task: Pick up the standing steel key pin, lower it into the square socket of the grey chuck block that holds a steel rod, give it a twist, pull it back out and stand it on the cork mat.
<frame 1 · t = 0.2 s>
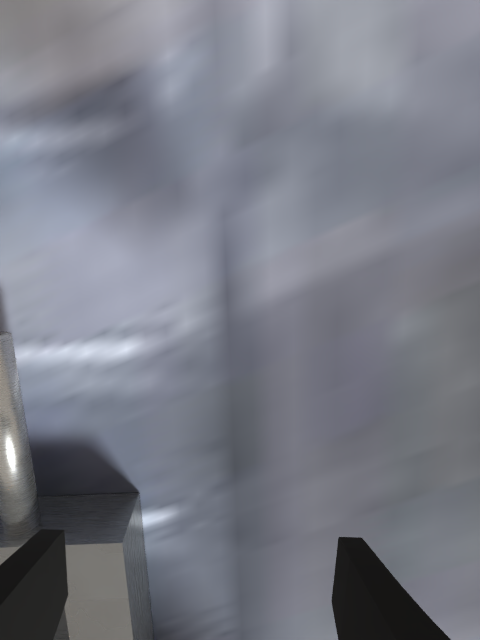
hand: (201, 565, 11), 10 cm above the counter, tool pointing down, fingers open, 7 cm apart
chuck block: (54, 578, 23), on the counter
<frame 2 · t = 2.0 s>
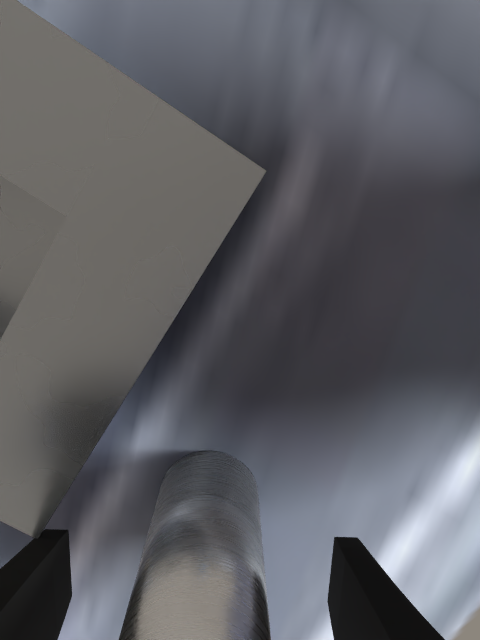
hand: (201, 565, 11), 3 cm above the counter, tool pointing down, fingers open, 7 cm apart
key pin: (209, 495, 14), on the counter
chuck block: (11, 240, 12), on the counter
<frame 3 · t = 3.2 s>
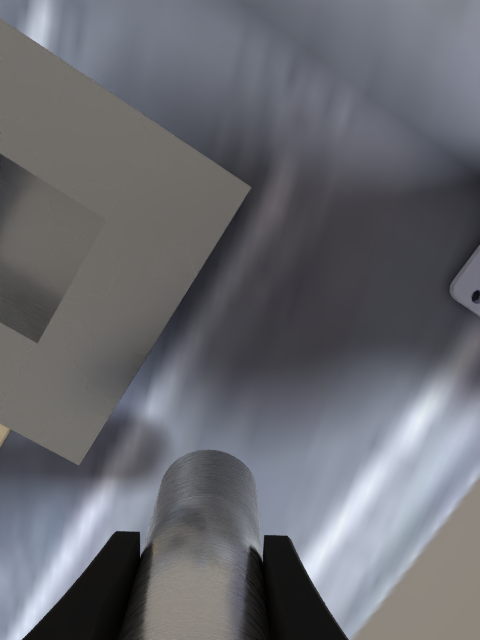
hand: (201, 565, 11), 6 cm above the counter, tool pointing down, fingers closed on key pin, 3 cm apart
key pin: (208, 493, 14), point 3 cm above the counter, touching gripper
chuck block: (53, 238, 16), on the counter
when the fingers open (4 cm above the counter, at t = 8.8 s): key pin stays where it is, resting on cork mat.
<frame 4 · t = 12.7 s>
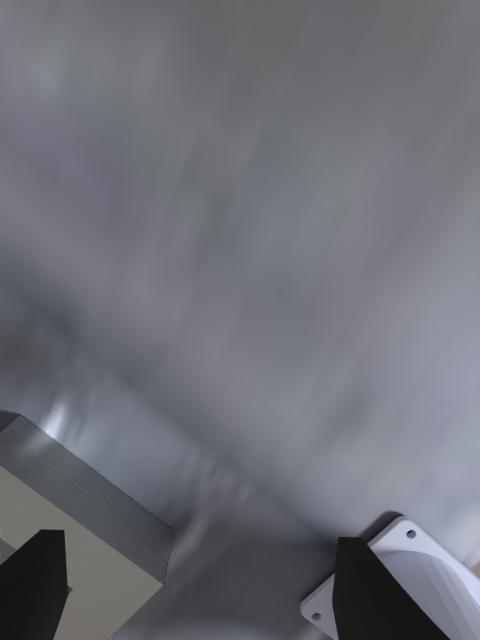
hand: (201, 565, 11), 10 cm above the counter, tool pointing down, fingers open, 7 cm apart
chuck block: (41, 537, 23), on the counter
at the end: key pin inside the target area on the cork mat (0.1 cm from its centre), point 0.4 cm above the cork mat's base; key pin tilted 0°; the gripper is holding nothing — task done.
